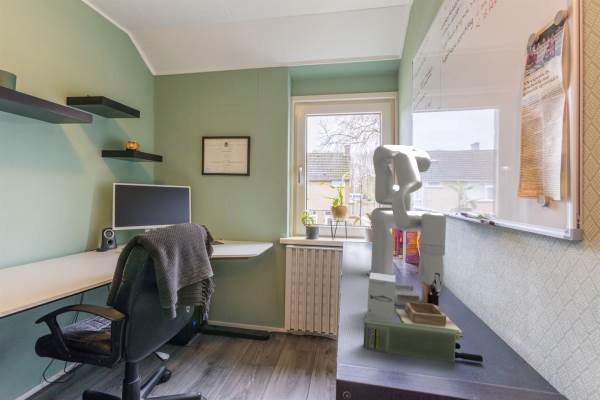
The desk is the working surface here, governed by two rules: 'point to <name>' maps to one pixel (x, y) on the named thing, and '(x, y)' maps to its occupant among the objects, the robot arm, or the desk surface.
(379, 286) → the supplement box
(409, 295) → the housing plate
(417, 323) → the socket board
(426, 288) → the block
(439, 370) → the desk surface
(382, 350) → the handheld radio
